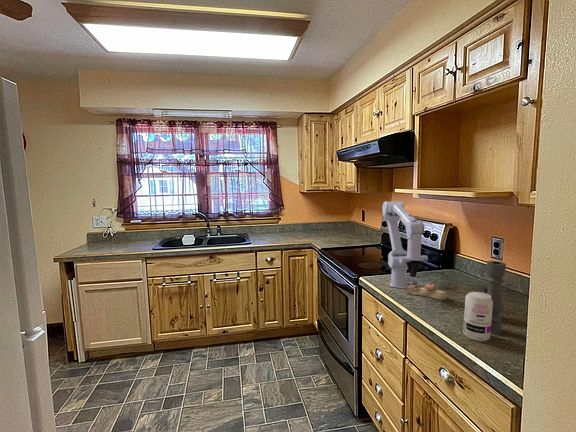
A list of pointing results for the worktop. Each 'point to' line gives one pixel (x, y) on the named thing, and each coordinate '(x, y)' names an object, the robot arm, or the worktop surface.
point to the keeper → (429, 286)
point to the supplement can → (478, 316)
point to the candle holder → (495, 292)
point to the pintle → (413, 283)
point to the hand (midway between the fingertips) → (412, 276)
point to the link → (426, 292)
